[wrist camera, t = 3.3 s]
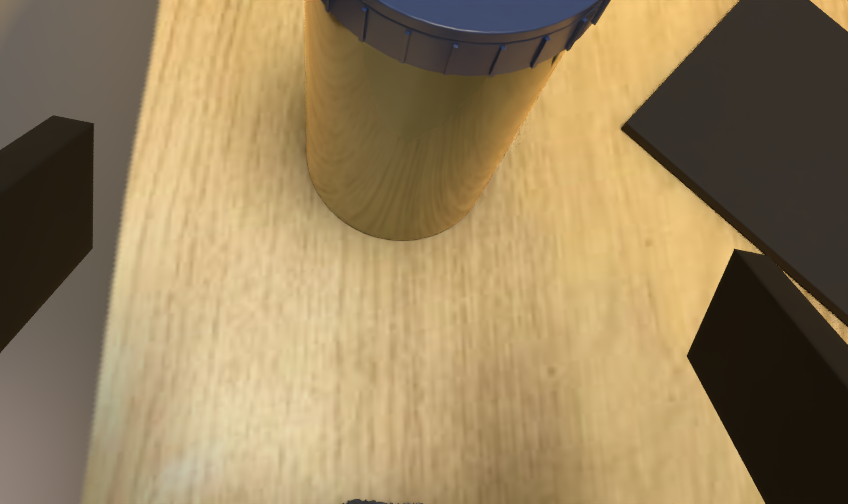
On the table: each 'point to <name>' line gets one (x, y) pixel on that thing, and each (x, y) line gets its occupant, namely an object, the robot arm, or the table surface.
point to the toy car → (369, 502)
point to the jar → (403, 132)
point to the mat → (765, 136)
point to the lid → (468, 31)
